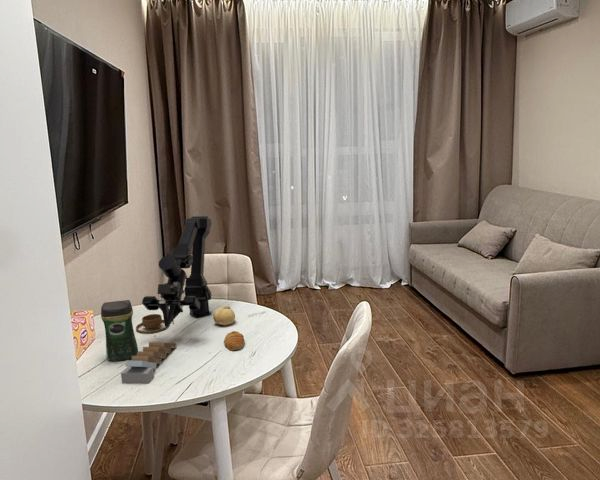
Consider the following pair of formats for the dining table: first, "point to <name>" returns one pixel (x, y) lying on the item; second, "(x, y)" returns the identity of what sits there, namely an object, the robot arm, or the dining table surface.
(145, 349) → the domino
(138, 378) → the stop block
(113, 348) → the coffee jar
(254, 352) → the dining table surface
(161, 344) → the domino
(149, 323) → the place setting
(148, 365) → the domino
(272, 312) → the dining table surface
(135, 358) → the domino
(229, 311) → the onion
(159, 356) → the domino
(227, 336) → the pastry
